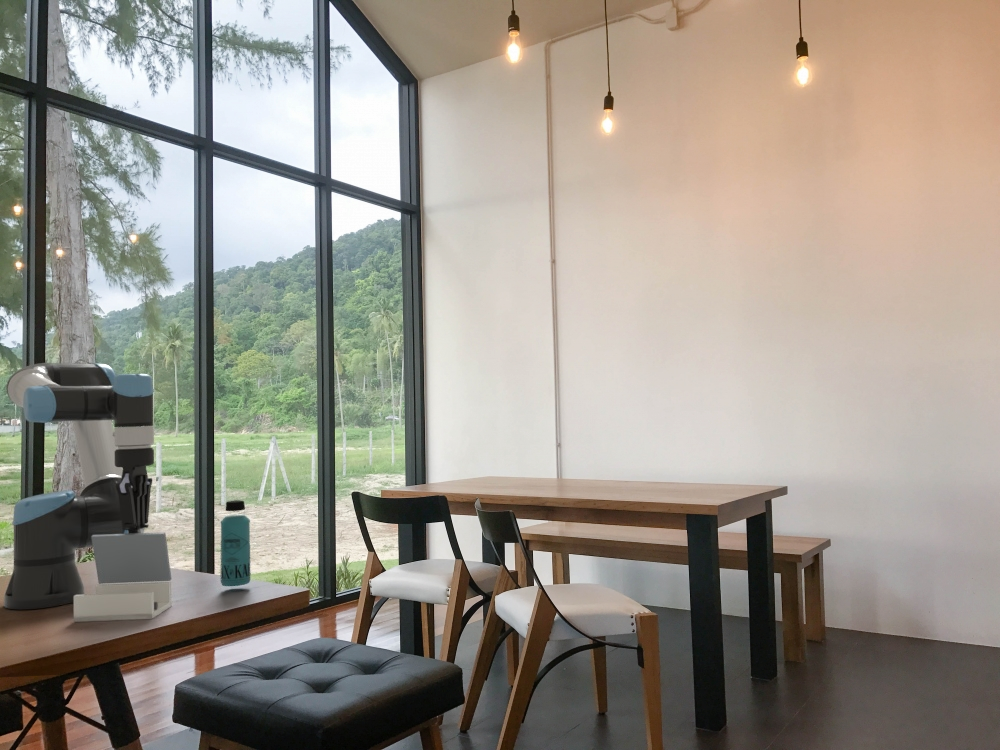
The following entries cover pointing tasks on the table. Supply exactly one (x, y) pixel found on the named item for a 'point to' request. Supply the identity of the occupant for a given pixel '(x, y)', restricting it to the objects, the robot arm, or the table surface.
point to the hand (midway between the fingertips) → (136, 560)
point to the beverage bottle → (235, 547)
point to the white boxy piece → (123, 602)
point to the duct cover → (131, 557)
